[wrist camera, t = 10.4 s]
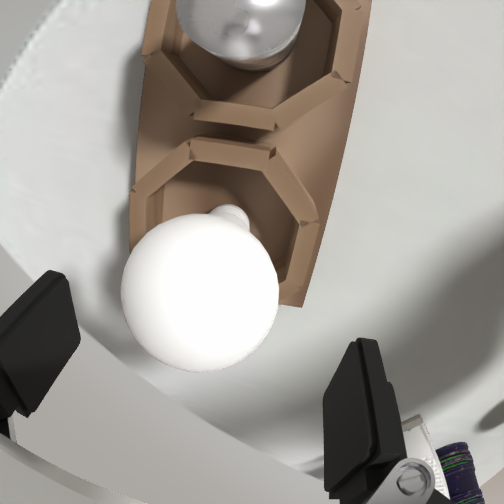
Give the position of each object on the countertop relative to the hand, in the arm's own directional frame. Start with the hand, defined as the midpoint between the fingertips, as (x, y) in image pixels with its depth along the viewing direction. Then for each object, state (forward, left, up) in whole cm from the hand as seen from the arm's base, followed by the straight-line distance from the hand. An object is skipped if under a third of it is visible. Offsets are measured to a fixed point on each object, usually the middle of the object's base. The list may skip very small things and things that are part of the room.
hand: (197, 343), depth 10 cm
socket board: (+1, -5, -13) cm, 14 cm away
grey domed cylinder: (+1, -11, -11) cm, 15 cm away
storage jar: (-38, +35, -13) cm, 53 cm away
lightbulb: (0, 0, -11) cm, 11 cm away
